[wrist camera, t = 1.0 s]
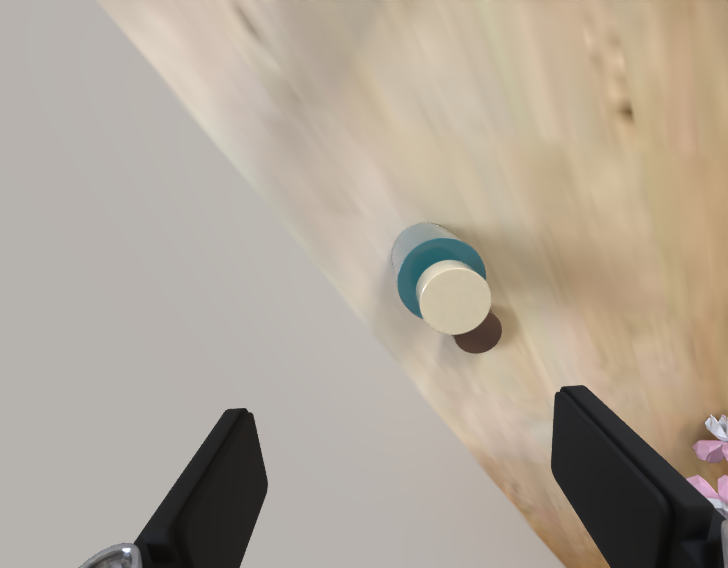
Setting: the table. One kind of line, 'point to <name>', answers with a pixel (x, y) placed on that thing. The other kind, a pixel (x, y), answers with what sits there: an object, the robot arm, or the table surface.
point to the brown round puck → (481, 336)
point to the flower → (713, 453)
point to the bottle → (441, 279)
